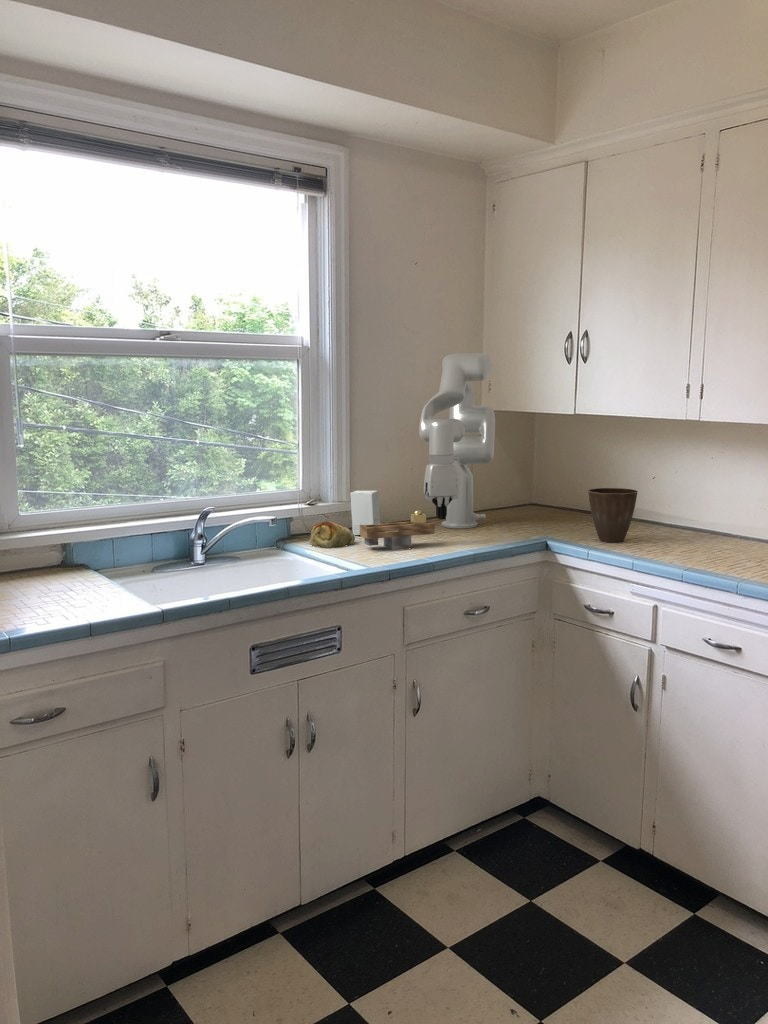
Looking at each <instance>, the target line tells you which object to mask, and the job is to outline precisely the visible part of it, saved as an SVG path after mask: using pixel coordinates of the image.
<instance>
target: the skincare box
mask: <svg viewBox="0 0 768 1024" xmlns="http://www.w3.org/2000/svg"><path fill="white" fill-rule="evenodd" d="M379 492H380V491H379V490H374V489H373V490H354V491H352V492H350V496H349V497H350V511H351V527H352V529H351V531H352V534H354V536H355V535H360V525H372V524H381V516H380V514H381V512H380V498H379V497H380V495H379Z"/></svg>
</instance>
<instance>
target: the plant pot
mask: <svg viewBox="0 0 768 1024" xmlns="http://www.w3.org/2000/svg"><path fill="white" fill-rule="evenodd" d="M587 491H588V500H589V507H590V512H591V517H592V521H593V525H594V528H595V531H596V534H597V537H598V539H599V541H600V542H604V543H609V544H610V543H612V544H614V543H617V544H618V543H623V542H624V541H625V539H626V537H627V534H628V531H629V529H630V525H631V522H632V519H633V516H634V511H635V507H636V504H637V502H636V501H637V497H638V492H639V491H638V490H636V489H631V488H617V487H606V488H605V487H600V488H591V489H590V488H589V489H588V490H587Z"/></svg>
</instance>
